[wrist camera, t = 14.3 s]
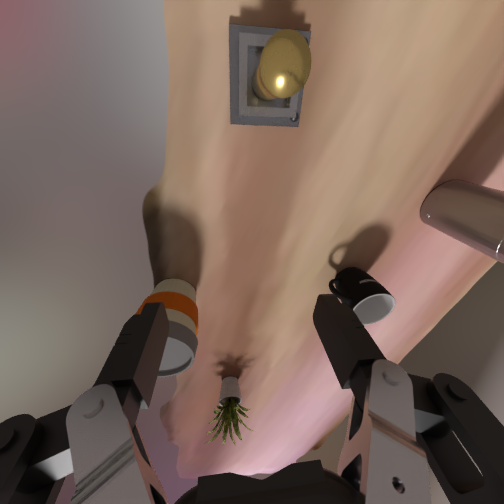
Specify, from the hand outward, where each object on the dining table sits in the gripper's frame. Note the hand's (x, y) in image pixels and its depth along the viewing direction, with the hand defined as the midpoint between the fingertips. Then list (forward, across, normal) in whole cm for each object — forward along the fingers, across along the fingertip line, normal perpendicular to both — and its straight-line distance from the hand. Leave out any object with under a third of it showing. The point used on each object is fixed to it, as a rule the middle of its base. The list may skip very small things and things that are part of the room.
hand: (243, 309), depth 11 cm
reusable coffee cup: (+28, +13, +25) cm, 40 cm away
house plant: (+28, +3, +65) cm, 71 cm away
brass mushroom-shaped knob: (+27, -5, -13) cm, 31 cm away
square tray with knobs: (+28, -5, -13) cm, 31 cm away
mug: (+28, -26, +22) cm, 44 cm away
